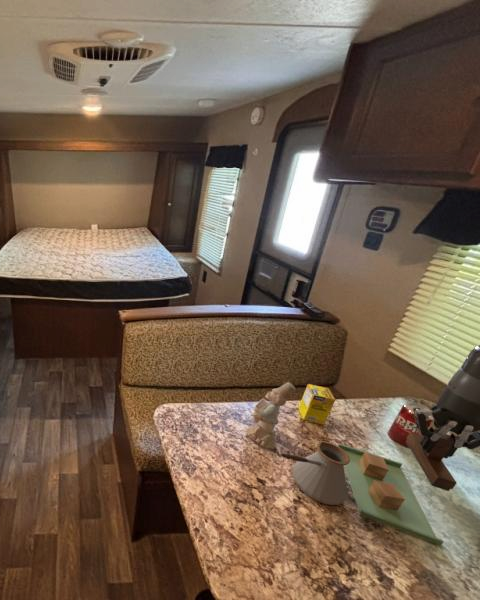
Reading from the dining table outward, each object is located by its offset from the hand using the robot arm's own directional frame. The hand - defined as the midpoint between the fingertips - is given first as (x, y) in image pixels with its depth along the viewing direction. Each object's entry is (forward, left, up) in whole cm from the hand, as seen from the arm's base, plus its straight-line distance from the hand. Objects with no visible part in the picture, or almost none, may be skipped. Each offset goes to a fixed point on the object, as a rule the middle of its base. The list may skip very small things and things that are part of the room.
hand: (433, 452), depth 73 cm
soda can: (-7, -23, -16) cm, 29 cm away
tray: (+5, +1, -16) cm, 16 cm away
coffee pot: (+24, +11, -16) cm, 31 cm away
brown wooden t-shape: (0, 0, -4) cm, 4 cm away
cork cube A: (+6, -4, -15) cm, 16 cm away
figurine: (+32, -4, -16) cm, 36 cm away
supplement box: (+17, -21, -16) cm, 31 cm away
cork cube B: (+6, +5, -15) cm, 16 cm away
